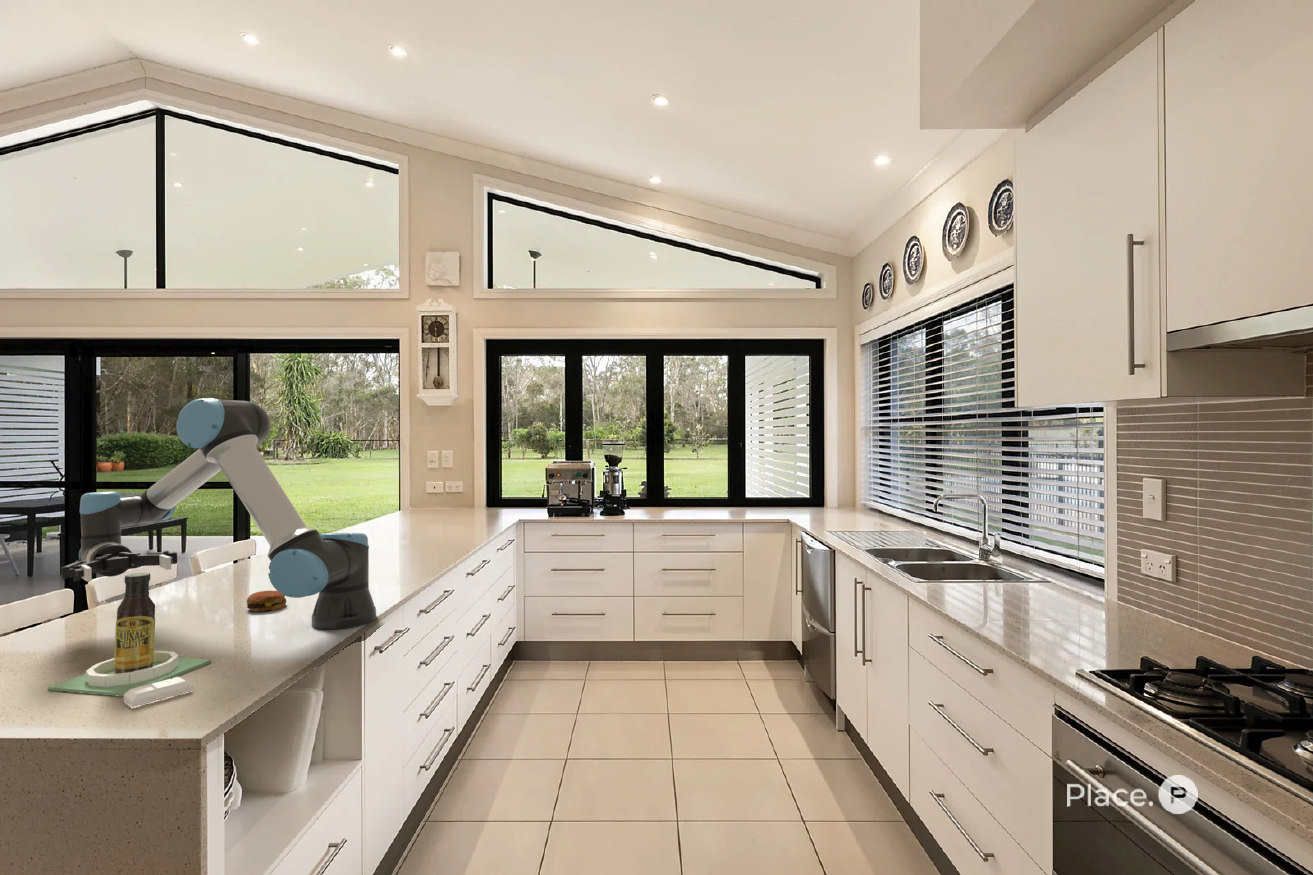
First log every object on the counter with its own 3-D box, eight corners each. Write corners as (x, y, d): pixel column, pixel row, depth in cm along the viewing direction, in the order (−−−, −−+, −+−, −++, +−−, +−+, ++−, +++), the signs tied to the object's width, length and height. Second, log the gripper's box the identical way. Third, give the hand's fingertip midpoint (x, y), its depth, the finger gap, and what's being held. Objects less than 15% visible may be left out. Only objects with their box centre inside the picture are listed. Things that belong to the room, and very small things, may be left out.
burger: (268, 602, 185) (268, 586, 185) (293, 605, 182) (293, 588, 182) (237, 612, 176) (237, 595, 176) (263, 614, 173) (263, 597, 173)
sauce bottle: (110, 680, 124) (109, 579, 124) (118, 670, 130) (117, 573, 130) (152, 674, 128) (151, 575, 127) (158, 664, 133) (157, 569, 133)
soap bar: (192, 694, 120) (192, 680, 120) (132, 711, 113) (132, 696, 113) (182, 688, 123) (182, 674, 123) (123, 704, 116) (123, 689, 116)
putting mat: (210, 662, 136) (210, 650, 136) (125, 697, 118) (125, 683, 118) (140, 657, 139) (140, 645, 139) (48, 690, 121) (48, 676, 121)
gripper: (174, 565, 162) (199, 575, 148) (38, 585, 142) (52, 598, 129) (173, 536, 162) (198, 543, 148) (37, 551, 142) (51, 561, 129)
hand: (130, 568), depth 138 cm, fingers open, 13 cm apart
